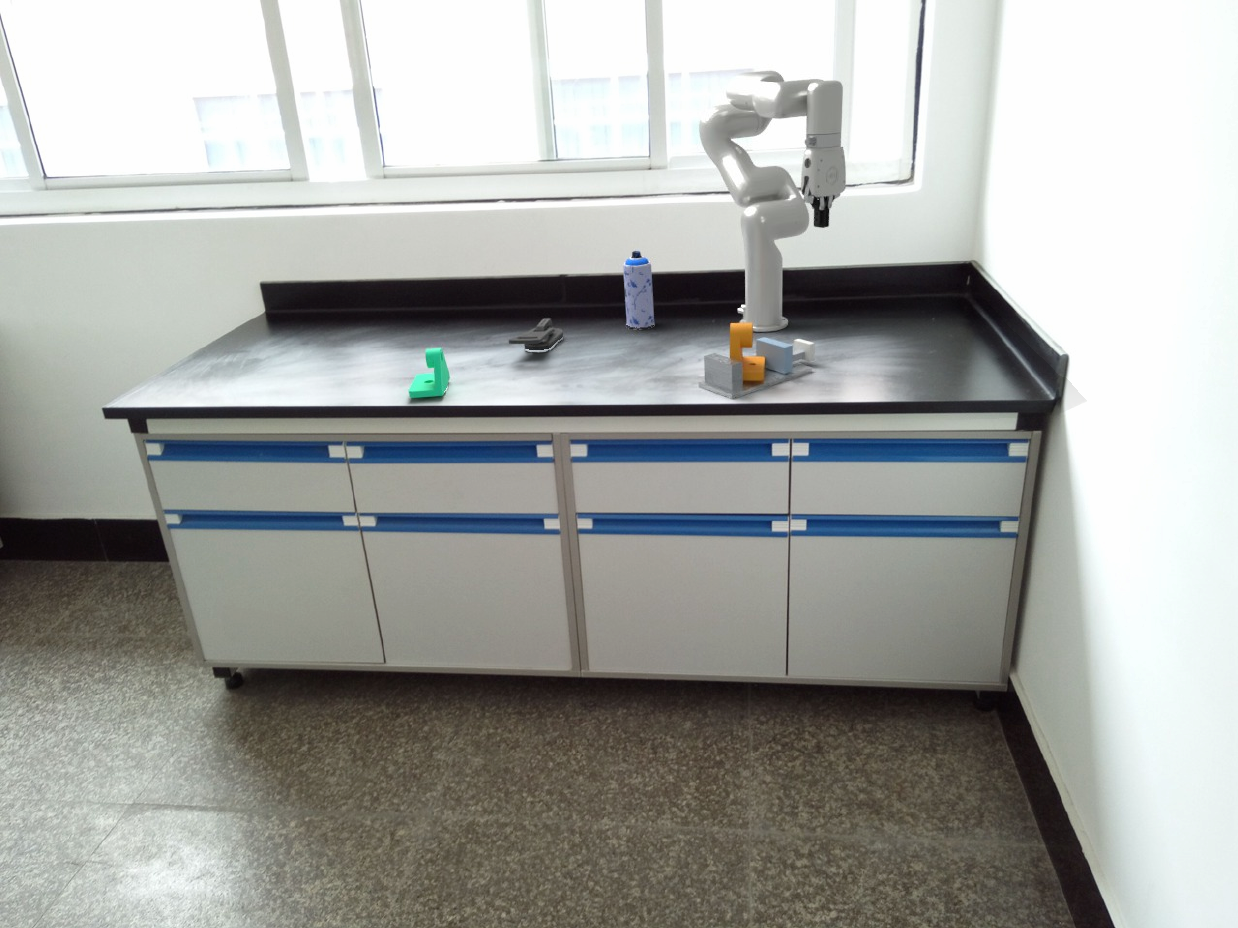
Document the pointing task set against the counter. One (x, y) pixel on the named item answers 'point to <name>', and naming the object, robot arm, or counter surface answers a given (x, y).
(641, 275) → the aerosol can
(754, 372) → the bracket
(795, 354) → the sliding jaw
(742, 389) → the vise
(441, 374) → the camera mount
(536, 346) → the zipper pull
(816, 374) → the counter surface
